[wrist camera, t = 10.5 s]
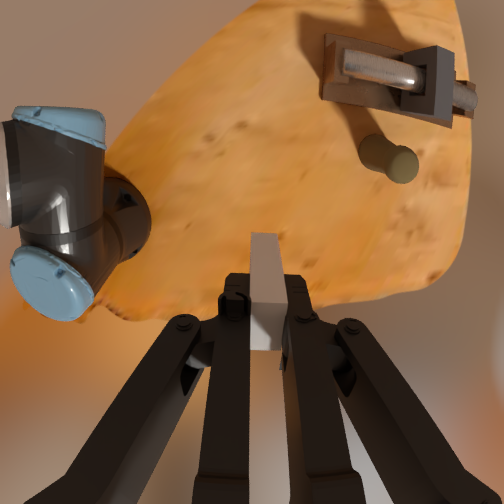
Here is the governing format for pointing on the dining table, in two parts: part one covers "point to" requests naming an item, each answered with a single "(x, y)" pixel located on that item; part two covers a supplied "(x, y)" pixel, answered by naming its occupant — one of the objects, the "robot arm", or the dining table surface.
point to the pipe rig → (382, 79)
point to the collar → (431, 83)
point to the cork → (389, 158)
